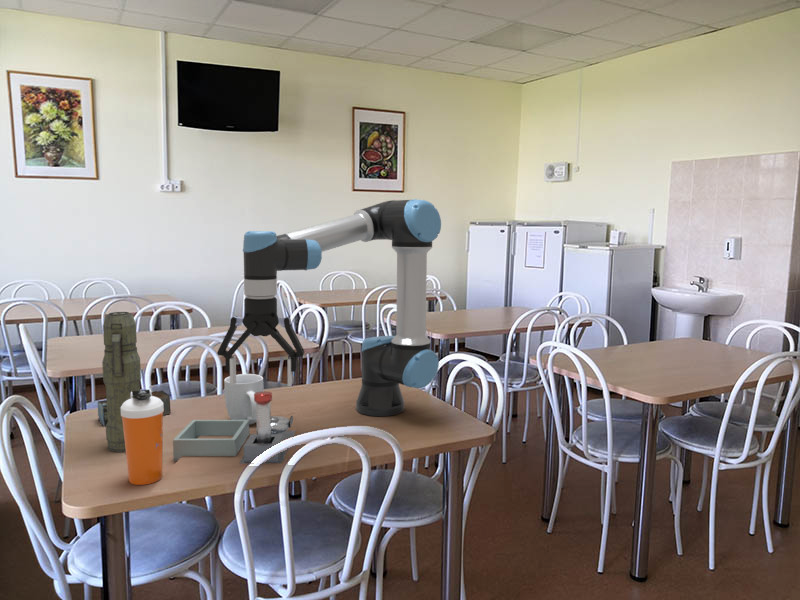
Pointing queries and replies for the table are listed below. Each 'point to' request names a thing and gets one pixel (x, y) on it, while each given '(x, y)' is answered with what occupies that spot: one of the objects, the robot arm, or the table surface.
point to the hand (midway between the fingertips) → (261, 384)
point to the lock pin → (263, 416)
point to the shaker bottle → (143, 437)
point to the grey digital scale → (277, 435)
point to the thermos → (119, 372)
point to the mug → (243, 396)
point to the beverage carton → (159, 394)
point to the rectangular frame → (192, 446)
